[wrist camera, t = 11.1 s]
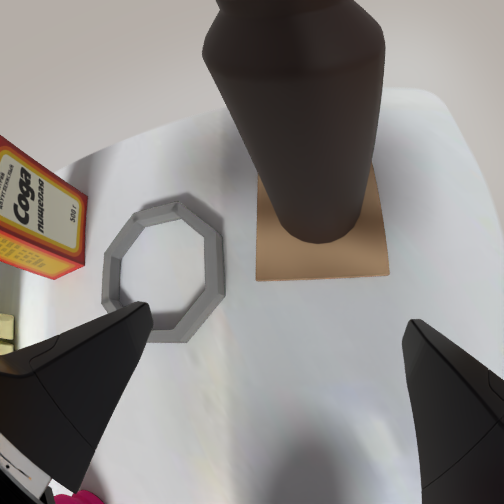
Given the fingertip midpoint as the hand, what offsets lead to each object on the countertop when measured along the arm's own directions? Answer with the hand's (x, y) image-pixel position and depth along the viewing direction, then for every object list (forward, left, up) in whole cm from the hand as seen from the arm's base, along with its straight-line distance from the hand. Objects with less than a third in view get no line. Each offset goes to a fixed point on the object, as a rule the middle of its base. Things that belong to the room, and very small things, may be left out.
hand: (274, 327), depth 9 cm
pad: (+4, -8, -11) cm, 14 cm away
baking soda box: (+27, +10, -12) cm, 31 cm away
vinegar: (+5, -8, -11) cm, 15 cm away
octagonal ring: (+12, +4, -11) cm, 17 cm away
